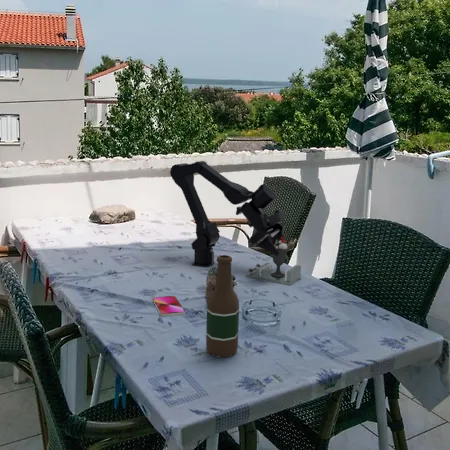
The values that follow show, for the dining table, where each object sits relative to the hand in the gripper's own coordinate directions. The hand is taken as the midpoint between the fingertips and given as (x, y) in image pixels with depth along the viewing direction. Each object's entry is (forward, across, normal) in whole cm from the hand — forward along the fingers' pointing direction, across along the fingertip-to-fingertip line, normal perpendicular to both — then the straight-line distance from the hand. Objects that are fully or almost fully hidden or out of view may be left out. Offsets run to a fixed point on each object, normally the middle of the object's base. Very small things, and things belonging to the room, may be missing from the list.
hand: (282, 252), depth 189 cm
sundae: (+5, 0, +7) cm, 9 cm away
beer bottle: (+14, -60, -1) cm, 62 cm away
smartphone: (-5, -43, +20) cm, 48 cm away
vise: (+5, 0, +9) cm, 10 cm away
